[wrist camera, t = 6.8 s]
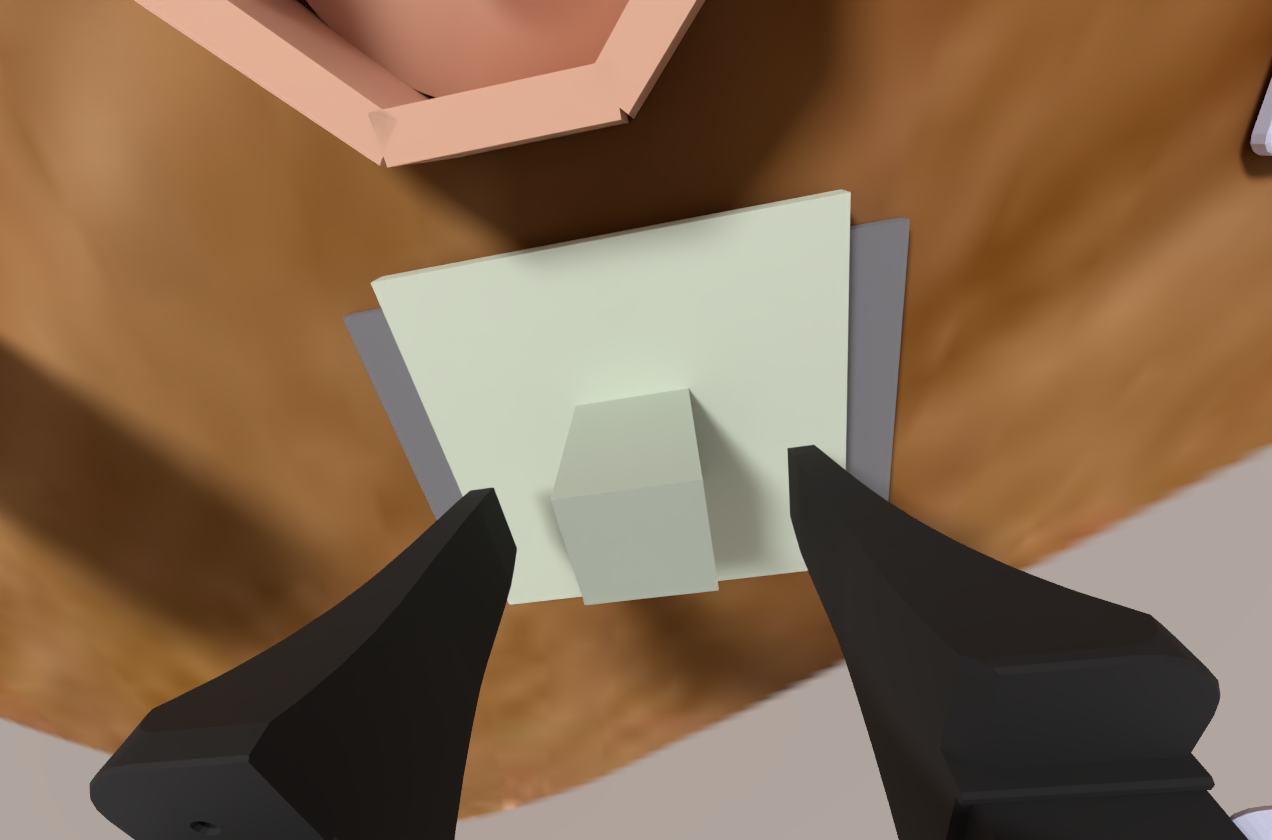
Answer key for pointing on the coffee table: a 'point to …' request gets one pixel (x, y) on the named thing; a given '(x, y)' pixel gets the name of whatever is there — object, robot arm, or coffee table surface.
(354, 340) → the mat
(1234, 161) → the coffee table surface
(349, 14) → the bowl
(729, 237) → the cover
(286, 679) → the robot arm
